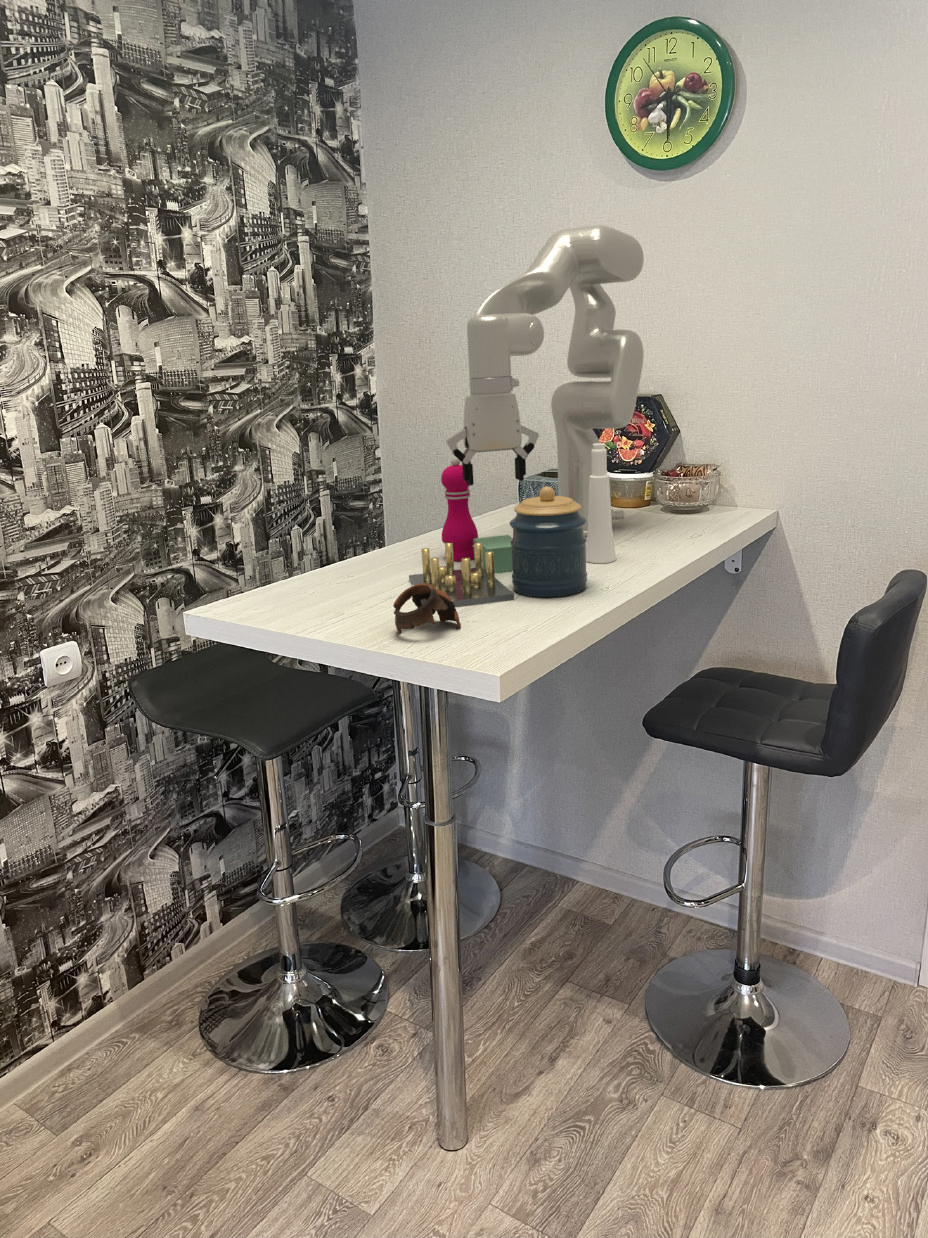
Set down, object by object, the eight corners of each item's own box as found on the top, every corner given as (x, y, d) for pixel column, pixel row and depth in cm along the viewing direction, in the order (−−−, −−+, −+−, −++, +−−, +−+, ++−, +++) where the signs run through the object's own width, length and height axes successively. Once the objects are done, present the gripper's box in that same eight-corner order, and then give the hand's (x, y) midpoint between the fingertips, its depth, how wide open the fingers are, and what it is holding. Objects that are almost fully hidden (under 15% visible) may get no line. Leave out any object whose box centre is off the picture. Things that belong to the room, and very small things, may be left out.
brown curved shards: (471, 636, 140) (446, 597, 136) (417, 667, 141) (390, 629, 136) (454, 597, 150) (430, 559, 146) (403, 626, 151) (378, 589, 146)
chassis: (482, 572, 174) (481, 535, 172) (514, 599, 156) (512, 558, 154) (409, 580, 171) (406, 543, 169) (432, 609, 153) (429, 568, 151)
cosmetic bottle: (621, 561, 176) (620, 444, 170) (591, 565, 175) (589, 446, 168) (608, 554, 182) (607, 440, 175) (579, 558, 181) (577, 443, 174)
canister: (541, 603, 153) (538, 496, 148) (497, 587, 164) (493, 487, 158) (603, 588, 159) (602, 485, 154) (556, 574, 170) (554, 477, 165)
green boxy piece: (509, 559, 184) (507, 534, 182) (524, 571, 174) (523, 545, 173) (474, 563, 182) (473, 538, 181) (488, 575, 173) (487, 549, 171)
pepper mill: (475, 562, 182) (469, 459, 176) (439, 562, 184) (432, 460, 178) (482, 553, 189) (477, 453, 183) (447, 553, 190) (441, 454, 184)
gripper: (530, 383, 173) (532, 475, 179) (439, 389, 170) (444, 483, 175) (543, 385, 166) (545, 480, 172) (448, 391, 163) (454, 489, 168)
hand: (494, 482), depth 173 cm, fingers open, 9 cm apart
